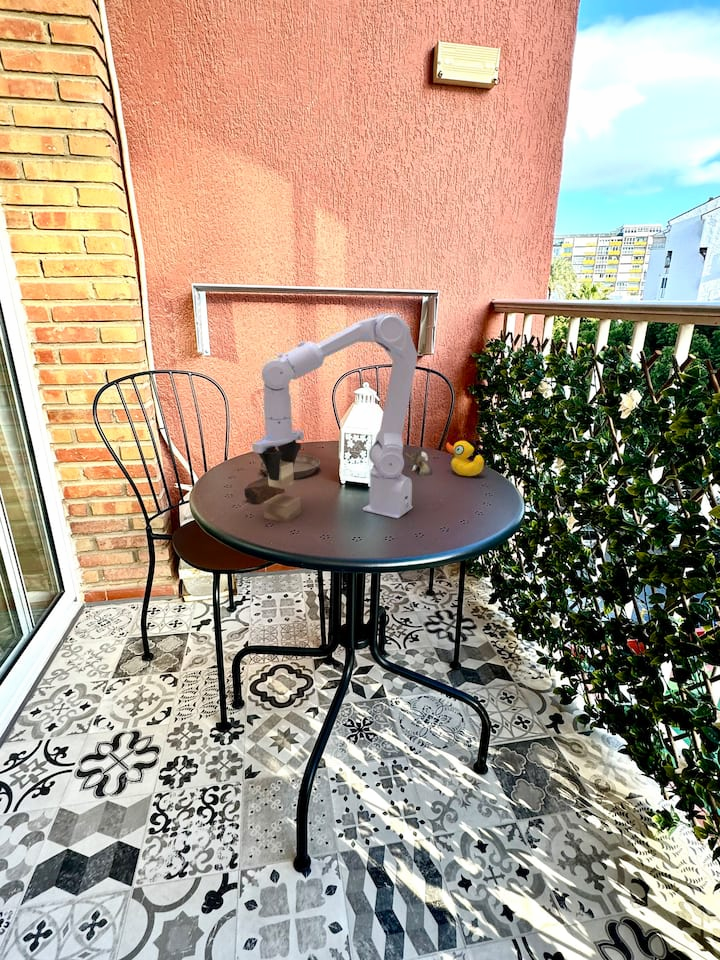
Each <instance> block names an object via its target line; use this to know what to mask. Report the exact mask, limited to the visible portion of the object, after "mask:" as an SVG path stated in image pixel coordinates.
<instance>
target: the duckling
mask: <svg viewBox="0 0 720 960" xmlns="http://www.w3.org/2000/svg"><path fill="white" fill-rule="evenodd" d="M445 447H446V450H447V452H448V453H449V454H452V455H453V454H454V458H452V460H451V462H450V464H451V465H450V466H451V468H452V470H453V471H454V472H455V473H456V474H457V475H459V476H464V477H465V476H466V477H474V476H477V475H479V474H480V473H481V472H482V471H483V469H484V465H485V459H484V458H483V457H482V455H481V454H479V455H475V457H474V458H473V461H470V460H469V459H468V458H469V457H470V456H471V455H472V454H473V453H474V451H475V447H474V446H473V445H471V443H469V442H468V441H466V440H459V441H457V442H455V443H454V445H451V444H450V442H446V445H445Z"/></svg>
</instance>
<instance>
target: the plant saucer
mask: <svg viewBox="0 0 720 960" xmlns="http://www.w3.org/2000/svg"><path fill="white" fill-rule="evenodd" d="M280 460H281V459H280ZM320 464H321V460H320V459H319V458H317V457H314V456H311V455H306V454H305V455H304V454H297V456H296V459H295V463H294V467H293V476H294V478H295V479H300V477H301V478H304V477H307V476H311V475H312V474H314V473H315V471H317V469H318V467H320ZM258 466H259V468H260V470H262V472H263V473H264V474H266V475H267V476H268V472H267V469H266V466H265V464H264V462H263V460H262V461H261V462H260V463H259V464H258Z"/></svg>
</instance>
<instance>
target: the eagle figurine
mask: <svg viewBox="0 0 720 960" xmlns="http://www.w3.org/2000/svg"><path fill="white" fill-rule="evenodd" d="M405 455H406V457H407V458H408V459H411V461H412V462H413V467H412V470H411V472H414V471H416V469H417V468H418V467H419V473H418V475H420V476H421V477H422V476H423V477H428V476H431V474H433V473H432V472H433V469H432V468H431V466H430V464H429V463H428V462H427V461H429V460H428V454H427V453H426V452H425V451H417V452H416V454H415V453H411V456H410V455H409V454H408V453H407V452H405Z"/></svg>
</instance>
